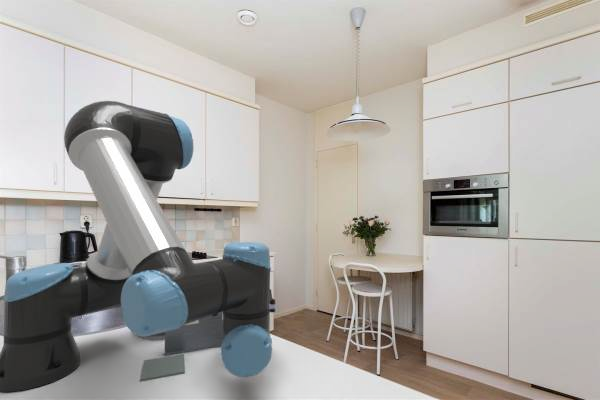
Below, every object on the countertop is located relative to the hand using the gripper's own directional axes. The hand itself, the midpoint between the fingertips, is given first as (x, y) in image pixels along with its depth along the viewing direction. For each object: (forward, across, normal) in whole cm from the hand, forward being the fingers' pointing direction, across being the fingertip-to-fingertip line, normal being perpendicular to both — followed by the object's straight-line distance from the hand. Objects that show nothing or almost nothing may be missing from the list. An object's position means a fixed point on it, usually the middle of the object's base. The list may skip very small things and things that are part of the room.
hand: (242, 287), depth 83 cm
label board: (+2, -8, -16) cm, 18 cm away
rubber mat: (-7, -18, -16) cm, 25 cm away
